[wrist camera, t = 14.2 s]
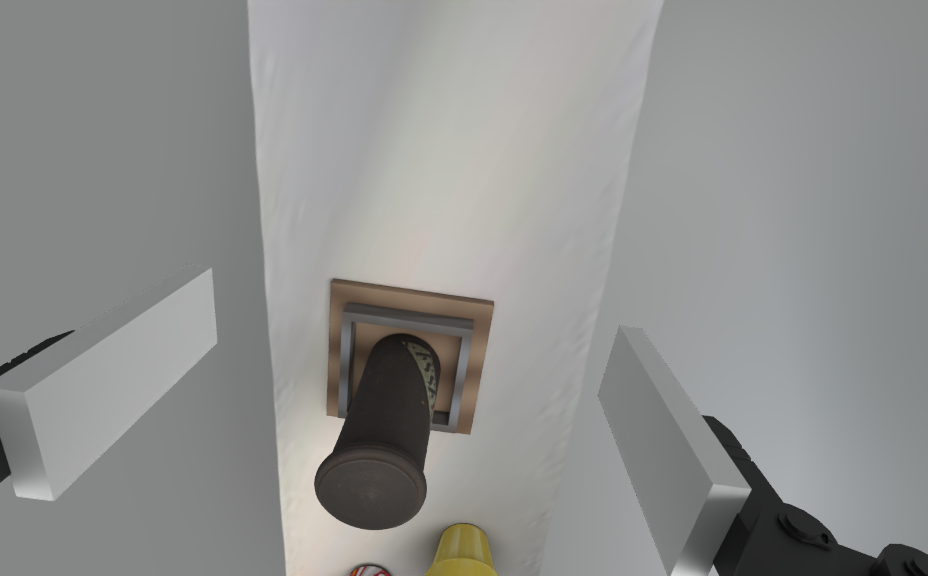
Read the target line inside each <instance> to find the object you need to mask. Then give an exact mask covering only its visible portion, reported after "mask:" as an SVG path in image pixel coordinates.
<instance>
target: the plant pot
mask: <svg viewBox="0 0 928 576" xmlns="http://www.w3.org/2000/svg"><path fill="white" fill-rule="evenodd" d="M425 576H498V574H497V573H496V571H495V570H494V566H493V562H492V558H491V554H490V549H489V545H488V541H487V537H486V535H485V533H484V532H483V531H482V530H481V529H479V528H478V527H476V526H473V525H470V524H456V525H453V526H451V527H449V528H447V529H446V530H445V531H444V533H443V534H442V537H441V540H440V543H439V546H438V549H437V552H436V555H435V558H434V561H433V564H432V566H431V567H430V568H429V569H428V571H427V572H426V574H425Z"/></svg>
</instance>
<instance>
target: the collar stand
mask: <svg viewBox="0 0 928 576" xmlns="http://www.w3.org/2000/svg"><path fill="white" fill-rule="evenodd" d="M493 309H494V301H487V300H480V299H473V298H466V297H459V296H452V295H445V294H438V293H431V292H424V291H417V290H410V289H403V288H396V287H389V286H382V285H375V284H368V283H361V282H354V281H347V280H340V279H334V280H333V281H332V282H331V299H330V329H329V358H328V388H327V416H335V417H338V418H344V419H346V417H347V414H348V412H349V409H350V406H351V404H352V401H353V398H354V396H355V393H356V391H357V388H358V385H359V382H360V380H361V377H362V374H363V371H364V368H365V365H366V362H367V359H368V357H369V355H370V352H371V350H372V348H373V347H374V345H375V344H376V343H377V342H378V341H380V340H381V339H383V338H384V337H387V336H389V335H393V334H409V335H413V336H416V337H418V338H420V339H422V340H424V341H425V342H427V343H428V344H429V345H430V346H431V347H432V348H433V349H434V351H435V352H436V354H437V355H438V358H439V361H440V366H441V374H440V380H439V385H438V391H437V396H436V401H435V407H434V412H433V418H432V424H431V429H430V430H434V431H441V432H449V433H461V434H469V435H470V432H471V427H472V422H473V416H474V411H475V406H476V400H477V395H478V389H479V384H480V379H481V373H482V368H483V363H484V357H485V352H486V346H487V341H488V336H489V330H490V325H491V320H492V314H493Z"/></svg>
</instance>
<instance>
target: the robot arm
mask: <svg viewBox="0 0 928 576" xmlns="http://www.w3.org/2000/svg"><path fill="white" fill-rule="evenodd" d="M213 293H214V292H213V279H212V267H206V266H199V265H192V264H186V265H184V266H183V267H181V268H179V269H178V270H176V271H175V272H173V273H171V274H169V275H168V276H166V277H164V278H163V279H161V280H159V281H158V282H156V283H155V284H153V285H151V286H150V287H148V288H146V289H145V290H143V291H141V292H140V293H138V294H136V295H134V296H133V297H131V298H129V299H128V300H126V301H124V302H123V303H121V304H119V305H118V306H116V307H114V308H113V309H111V310H109V311H108V312H106V313H104V314H103V315H101V316H99V317H98V318H96V319H94V320H93V321H91V322H89V323H88V324H86V325H84V326H83V327H81V328H80V329H78V330H76V331H75V330H72V331H69V332H66V333H63V334H61V335H57V336H55V337H52V338H49V339H47V340H45V341H43V342H41V343H40V344H38V345H36V346H35V347H33V348H31V349H29V350H28V352H27V353H23V354H21V355H19V356H17V357H16V358H14V359H12V360H11V362H10V363H8V362H7V363H5V364H3V365H2V366H0V482H2V481H3V480H4V479H5V478H6V477H8V476H9V475H10V477H11V480H12V483H13V487H14V490H15V493H16V496H18V497H25V498H33V499H41V500H49V501H55V500H56V499H57V497H59V496H60V495H61V494H62V493H63V492H64V491H65V490H66V489H67V488H68V487H69V486H70V485H71V484H72V483H73V482H74V481H75V480H76V479H77V478H78V477H79V476H80V475H81V474H82V473H83V472H84V471H86V469H88V467H90V466H91V465H92V464H93V463H94V462H95V461H96V460H97V459H98V458H99V457H100V456H101V455H102V454H103V453H104V452H105V451H106V450H107V449H108V448H109V447H110V446H111V445H112V444H113V443H114V442H115V441H116V440H117V439H118V438H119V437H120V436H122V435H123V433H125V432H126V431H127V430H128V429H129V428H130V427H131V426H132V425H133V424H134V423H135V422H136V421H137V420H138V419H139V418H140V417H141V416H142V415H143V414H144V413H145V412H146V411H147V410H148V409H149V408H150V407H151V406H153V405H154V403H156V402H157V401H158V399H160V398H161V397H162V396H163V395H164V394H165V393H166V392H167V391H168V390H169V389H170V388H171V387H172V386H173V385H174V384H175V383H176V382H177V381H178V380H179V379H180V378H181V377H182V376H183V375H184V374H185V373H187V371H189V369H191V368H192V367H193V366H194V365H195V364H196V363H197V362H198V361H199V360H200V359H201V358H202V357H203V356H204V355H205V354H206V353H207V352H208V351H209V350H210V349H211V348H212V347H213V346H214V345H215V344H216V343H217V333H216V320H215V306H214V294H213ZM598 397H599V400H600V403H601V405H602V407H603V410H604V413H605V415H606V418H607V421H608V423H609V426H610V428H611V431H612V434H613V436H614V439H615V441H616V444H617V446H618V449H619V452H620V454H621V457H622V459H623V462H624V464H625V467H626V470H627V472H628V475H629V477H630V480H631V483H632V485H633V488H634V490H635V493H636V496H637V498H638V500H639V503H640V506H641V508H642V511H643V514H644V516H645V519H646V521H647V524H648V527H649V529H650V532H651V534H652V537H653V539H654V542H655V545H656V547H657V550H658V552H659V555H660V558H661V560H662V563H663V565H664V568H665V570H666V573H667V575H668V576H708V573H709V572H710V570H711V568H712V566H713V564H714V566H715V568H716V570H717V572H718V574H719V576H928V554H926V553H924V552H922V551H920V550H918V549H915V548H912V547H909V546H906V545H902V544H889V545H888V546H887V547H885V548H884V549H883V550H882V552H881V553H880V555H879V556H878V558H874V557H872V556H869V555H866V554H863V553H861V552H858V551H855V550H852V549H850V548H847V547H844V546H842V545H839V544H838V543H837V541H836V539H835V538H834V536H833V535H832V533H831V532H830V531H829V530H828V529H827V528H826V527H825V526H824V525H823V524H822V523H820V521H819V520H817V519H816V518H814V517H813V516H811V515H810V514H808V513H807V512H805V511H804V510H802V509H799V508H797V507H795V506H793V505H790V504H786V503H783V501H782V500H781V498H780V497H779V496H778V494H777V493H776V492H775V490H774V489H773V488H772V486H771V485H770V484H769V482H768V481H767V479H766V478H765V477H764V475H763V474H762V473H761V471H760V470H759V469H758V468H757V466H756V464H755V463H754V462H753V461H751V458H750V456H749V455H748V454H747V452H746V451H745V450H744V449H742V445H741V444H740V443H739V441H738V440H737V439H736V437H735V436H734V435H733V433H732V432H731V431H730V430H729V429H728V428H727V427H725V426H724V425H723V424H722V423H721V422H719V421H718V420H717V419H716V418H714V417H711V416H704V415H701V414H700V412H699V411H698V410H697V408H696V407H695V405H694V404H693V402H692V401H691V399H690V398H689V396H688V395H687V393H686V392H685V390H684V389H683V388H682V386H681V385H680V383H679V382H678V380H677V379H676V377H675V376H674V374H673V373H672V371H671V370H670V368H669V367H668V365H667V364H666V363H665V361H664V360H663V358H662V357H661V355H660V354H659V352H658V351H657V349H656V348H655V346H654V345H653V343H652V342H651V341H650V339H649V338H648V336H647V335H646V333H645V332H644V330H643V329H642V328H635V327H628V326H620V325H619V327H618V331H617V334H616V337H615V340H614V344H613V347H612V350H611V353H610V357H609V360H608V363H607V367H606V370H605V373H604V376H603V379H602V383H601V386H600V389H599V393H598Z"/></svg>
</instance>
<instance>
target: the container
mask: <svg viewBox="0 0 928 576" xmlns="http://www.w3.org/2000/svg"><path fill="white" fill-rule="evenodd" d="M440 374H441V366H440V361H439V358H438V355H437V354H436V352H435V351H434V349H433V348H432V347H431V346H430V345H429V344H428V343H427V342H425V341H424V340H422V339H420V338H418V337H416V336H413V335H409V334H393V335H389V336H387V337H384V338H383V339H381V340H380V341H378V342H377V343H376V344H375V345H374V347H373V348H372V350H371V352H370V355H369V357H368V359H367V362H366V365H365V368H364V371H363V374H362V377H361V380H360V382H359V385H358V388H357V391H356V393H355V396H354V398H353V401H352V404H351V406H350V409H349V412H348V414H347V417H346V419H345V422H344V425H343V427H342V430H341V433H340V435H339V438H338V440H337V442H336V445H335V447H334V449H333V452H332V453H331V454H330V455H329V456H328V457H327V458H326V459H325V460H324V461H323V462H322V463H321V465H320V466H319V468H318V470H317V473H316V476H315V481H314V486H315V492H316V495H317V498H318V500H319V502H320V503H321V505H322V506H323V507H324V508H325V509H326V510H327V511H328V512H329V513H330V514H331V515H332V516H334V517H335V518H336V519H338V520H339V521H341V522H343V523H345V524H348V525H350V526H353V527H356V528H360V529H367V530H383V529H389V528H394V527H397V526H400V525H402V524H404V523H406V522H407V521H409V520H410V519H412V518H413V517H414V516H415V515H416V514H417V513H418V512H419V511H420V509H421V507H422V505H423V503H424V501H425V498H426V493H427V485H426V479H425V476H424V473H423V470H424V464H425V458H426V453H427V446H428V440H429V435H430V429H431V424H432V418H433V412H434V407H435V401H436V396H437V391H438V385H439V380H440Z"/></svg>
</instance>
